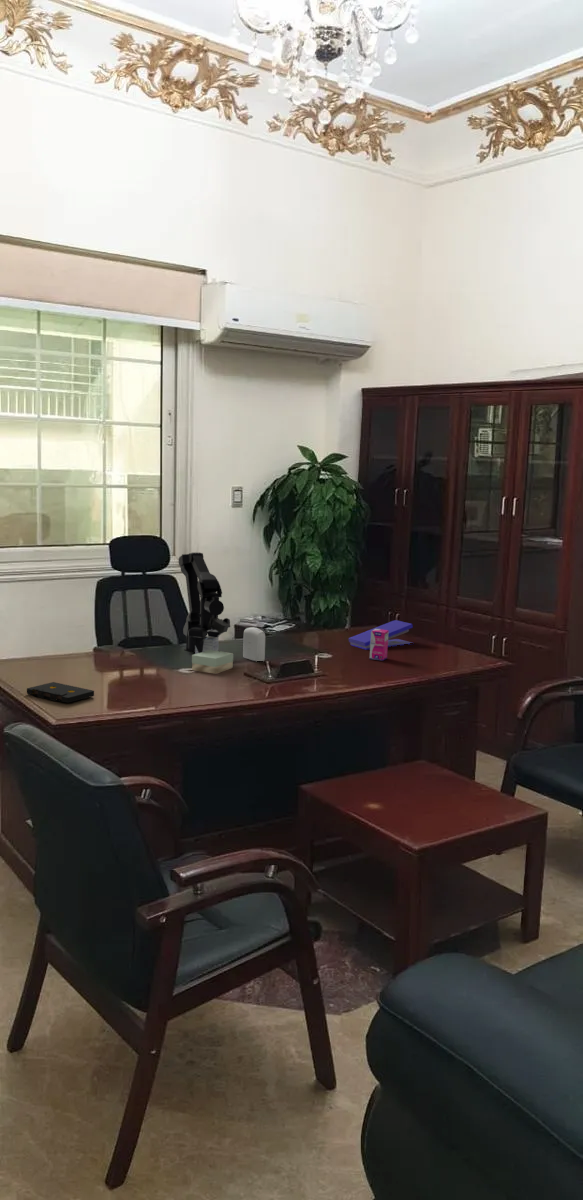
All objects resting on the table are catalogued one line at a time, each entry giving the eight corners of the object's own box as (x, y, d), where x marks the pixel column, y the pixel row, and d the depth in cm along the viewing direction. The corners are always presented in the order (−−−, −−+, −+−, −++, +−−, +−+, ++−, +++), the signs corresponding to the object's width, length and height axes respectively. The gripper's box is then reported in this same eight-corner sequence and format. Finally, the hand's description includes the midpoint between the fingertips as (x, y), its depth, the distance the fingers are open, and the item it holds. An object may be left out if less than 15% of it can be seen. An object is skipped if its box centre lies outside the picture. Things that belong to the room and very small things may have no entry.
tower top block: (191, 663, 329) (192, 655, 329) (210, 657, 340) (210, 649, 339) (215, 666, 324) (215, 658, 324) (233, 661, 335) (233, 653, 334)
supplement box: (369, 659, 360) (370, 630, 358) (373, 656, 365) (375, 628, 364) (383, 661, 358) (384, 632, 356) (387, 658, 363) (389, 629, 362)
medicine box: (218, 659, 348) (219, 637, 347) (212, 661, 344) (213, 639, 343) (200, 657, 352) (201, 635, 350) (194, 659, 348) (195, 636, 346)
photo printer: (241, 657, 353) (242, 626, 352) (250, 656, 356) (251, 625, 354) (257, 662, 346) (258, 630, 344) (266, 661, 348) (267, 629, 346)
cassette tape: (26, 694, 288) (26, 687, 288) (53, 687, 298) (53, 681, 298) (68, 703, 279) (68, 696, 279) (94, 696, 289) (94, 689, 289)
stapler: (414, 646, 393) (415, 623, 392) (365, 651, 376) (367, 628, 375) (395, 641, 402) (396, 619, 401) (347, 647, 385) (348, 623, 384)
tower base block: (192, 671, 329) (192, 663, 328) (208, 665, 340) (208, 657, 339) (216, 675, 325) (216, 667, 324) (232, 669, 336) (232, 661, 335)
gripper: (214, 616, 334) (213, 658, 336) (238, 610, 350) (236, 650, 353) (187, 613, 338) (186, 655, 340) (212, 607, 355) (211, 647, 357)
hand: (206, 651), depth 348 cm, fingers open, 9 cm apart
